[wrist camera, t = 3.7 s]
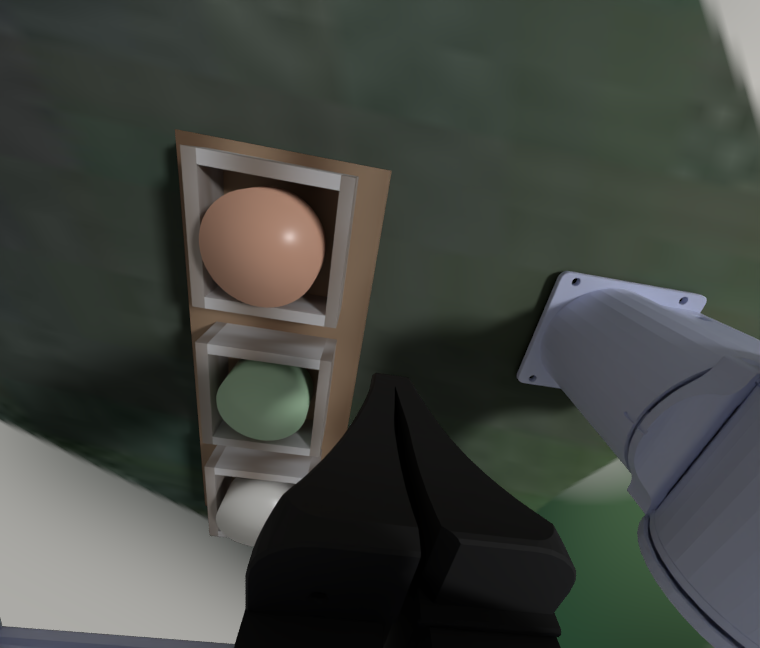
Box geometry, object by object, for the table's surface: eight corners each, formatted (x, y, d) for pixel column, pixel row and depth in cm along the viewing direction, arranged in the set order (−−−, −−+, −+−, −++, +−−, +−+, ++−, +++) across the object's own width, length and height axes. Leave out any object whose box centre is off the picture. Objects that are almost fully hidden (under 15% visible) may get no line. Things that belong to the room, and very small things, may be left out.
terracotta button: (331, 197, 15) (325, 201, 13) (321, 299, 17) (314, 315, 15) (217, 176, 14) (195, 177, 13) (221, 283, 16) (202, 297, 15)
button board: (390, 170, 17) (393, 171, 13) (334, 496, 28) (327, 551, 24) (196, 133, 17) (138, 122, 13) (216, 483, 28) (188, 537, 24)
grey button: (302, 475, 22) (296, 502, 21) (297, 522, 24) (291, 550, 23) (227, 466, 22) (214, 493, 20) (229, 514, 24) (217, 542, 22)
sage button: (316, 357, 19) (310, 376, 18) (309, 422, 21) (303, 445, 20) (230, 344, 19) (214, 363, 17) (231, 411, 21) (217, 434, 19)
